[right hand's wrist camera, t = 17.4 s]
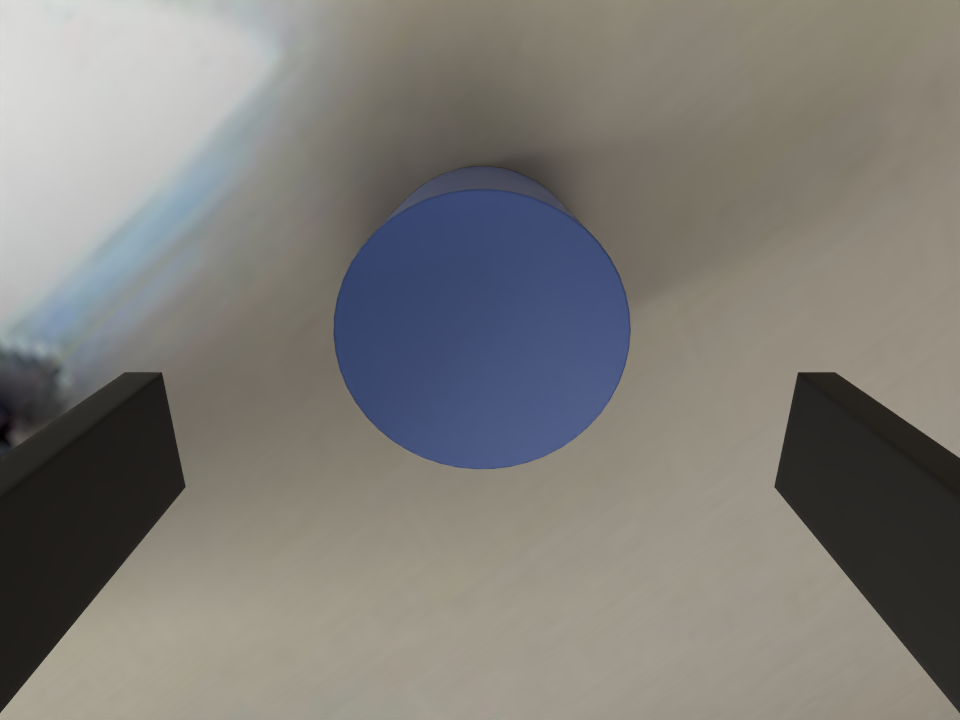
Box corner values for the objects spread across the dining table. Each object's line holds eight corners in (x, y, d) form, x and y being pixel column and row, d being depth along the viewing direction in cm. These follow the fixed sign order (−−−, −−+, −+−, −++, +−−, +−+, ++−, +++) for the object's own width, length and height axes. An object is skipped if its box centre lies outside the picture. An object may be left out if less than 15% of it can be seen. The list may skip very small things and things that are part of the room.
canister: (581, 156, 23) (632, 174, 15) (585, 358, 26) (629, 459, 18) (365, 175, 24) (307, 203, 16) (394, 373, 27) (358, 479, 19)
